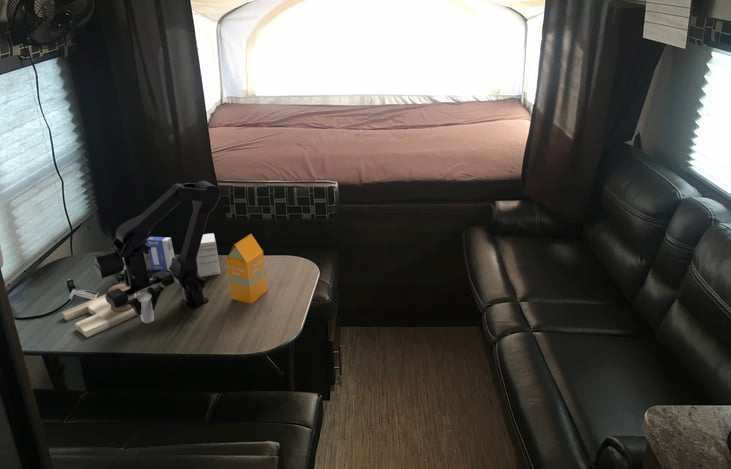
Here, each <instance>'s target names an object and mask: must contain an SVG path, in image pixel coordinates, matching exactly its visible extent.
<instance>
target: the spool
mask: <svg viewBox="0 0 731 469" xmlns="http://www.w3.org/2000/svg"><path fill="white" fill-rule="evenodd" d="M118 288H119V289H120V290H122V291H125V290H127V289H130V286H128V287H127V286H126V285H125V283H123V284H122V283H116V284H115V285H112V286H110V287H109V288H108V289H107V291H106V294H107V293H108V292H110V291H113V290H115V289H118ZM131 308H132V307H131V305H128V304H125V305H122V306H120V307H116V308H115V307H114V306H112V305H111V309H112V310H113V311H115V312H123V311H127V310H129V309H131Z"/></svg>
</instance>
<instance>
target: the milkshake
mask: <svg viewBox="0 0 731 469" xmlns="http://www.w3.org/2000/svg"><path fill="white" fill-rule="evenodd" d="M135 298H136V299H138V301H139V307H140V312H141V316H140V318H141V322H142V323H144V324H150V323H152V322H154V320H155V315H154V310H153V306H152V295H151V294H150V293H149V292H148V291H144V292H138V293H137V296H136V297H135Z"/></svg>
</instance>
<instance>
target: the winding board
mask: <svg viewBox="0 0 731 469" xmlns="http://www.w3.org/2000/svg"><path fill="white" fill-rule="evenodd" d="M106 294H107V293H105V294H103V295H100V296H99V297H96V298H94V299H90V300H88V301H86V302H84V303H81V304H78V305H75V306H74V307H71V308H69V309H66V310H64V311H62V312H61V314H62V318H63V319H64V320H65V321H67V322H68V321H71V320H72V319H73V320H74V319H75V318H78V317H81V316H82V315H85V314H88V313H89V314H91V315H92V316H89V317H86V318H84V319H82V320H80V321H78V322H75V329H76V330H77V331H78V332H79V333H81V334H82V335H84V336H85V337H86V338H89V337H92V336H94V335H96V334H98V333H100V332H102V331H105V330H107V329H109V328H111V327H113V326H116V325H118V324H120V323H122V322H125V321H127V320H129V319H132V318H133V317H135V316H138V315H137V314H136V312H135V311H134V309H133V308H131V309H129V310H127V311H123V312H115V311H113V310H112V309H111V304H109V303H108V302H107V301H106V297H105V296H106ZM137 295H138V293H136V294H134V296H135V297H136V296H137Z"/></svg>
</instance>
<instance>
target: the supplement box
mask: <svg viewBox="0 0 731 469" xmlns="http://www.w3.org/2000/svg"><path fill="white" fill-rule="evenodd" d="M217 249H218V248H217V242H216V238H215V234H214V232H213V233H205V234H204V233H203V237H202V240H201V244H200V248H199V251H198V255H197V266H198V273H197V275H199V276H200V277H201V278H203V277H208V276H214V275H215V276H216V275H219V274H221V268H220V263H219V261H220V260H219V255H218V250H217Z"/></svg>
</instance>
